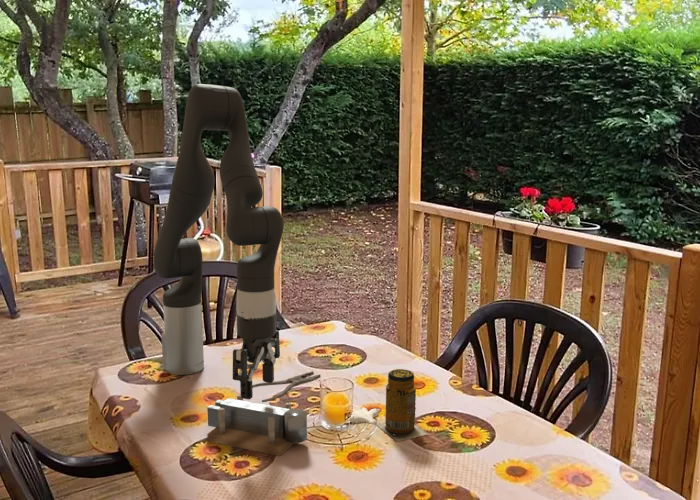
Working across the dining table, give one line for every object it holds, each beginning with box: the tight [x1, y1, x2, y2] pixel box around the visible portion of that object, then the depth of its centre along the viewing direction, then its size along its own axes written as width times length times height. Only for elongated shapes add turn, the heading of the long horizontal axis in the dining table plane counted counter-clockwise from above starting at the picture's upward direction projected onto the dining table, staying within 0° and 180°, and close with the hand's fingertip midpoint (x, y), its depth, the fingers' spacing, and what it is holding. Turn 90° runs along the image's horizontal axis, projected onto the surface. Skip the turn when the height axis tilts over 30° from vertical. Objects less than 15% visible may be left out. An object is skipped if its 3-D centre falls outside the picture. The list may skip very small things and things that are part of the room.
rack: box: [206, 394, 294, 457], centre depth 135 cm, size 16×10×6 cm, turn 68°
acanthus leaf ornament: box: [350, 404, 381, 425], centre depth 145 cm, size 8×7×2 cm
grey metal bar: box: [206, 398, 308, 444], centre depth 135 cm, size 21×4×5 cm, turn 68°
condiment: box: [375, 368, 428, 442], centre depth 138 cm, size 7×8×12 cm
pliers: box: [252, 370, 321, 403], centre depth 162 cm, size 10×1×20 cm
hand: (257, 389), depth 133 cm, fingers open, 8 cm apart
